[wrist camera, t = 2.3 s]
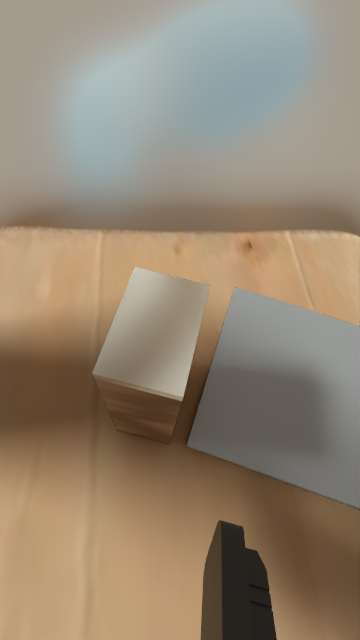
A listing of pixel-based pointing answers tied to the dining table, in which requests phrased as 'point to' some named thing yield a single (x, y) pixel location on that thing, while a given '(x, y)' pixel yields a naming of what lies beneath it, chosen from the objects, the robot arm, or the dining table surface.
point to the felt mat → (285, 397)
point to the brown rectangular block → (150, 353)
